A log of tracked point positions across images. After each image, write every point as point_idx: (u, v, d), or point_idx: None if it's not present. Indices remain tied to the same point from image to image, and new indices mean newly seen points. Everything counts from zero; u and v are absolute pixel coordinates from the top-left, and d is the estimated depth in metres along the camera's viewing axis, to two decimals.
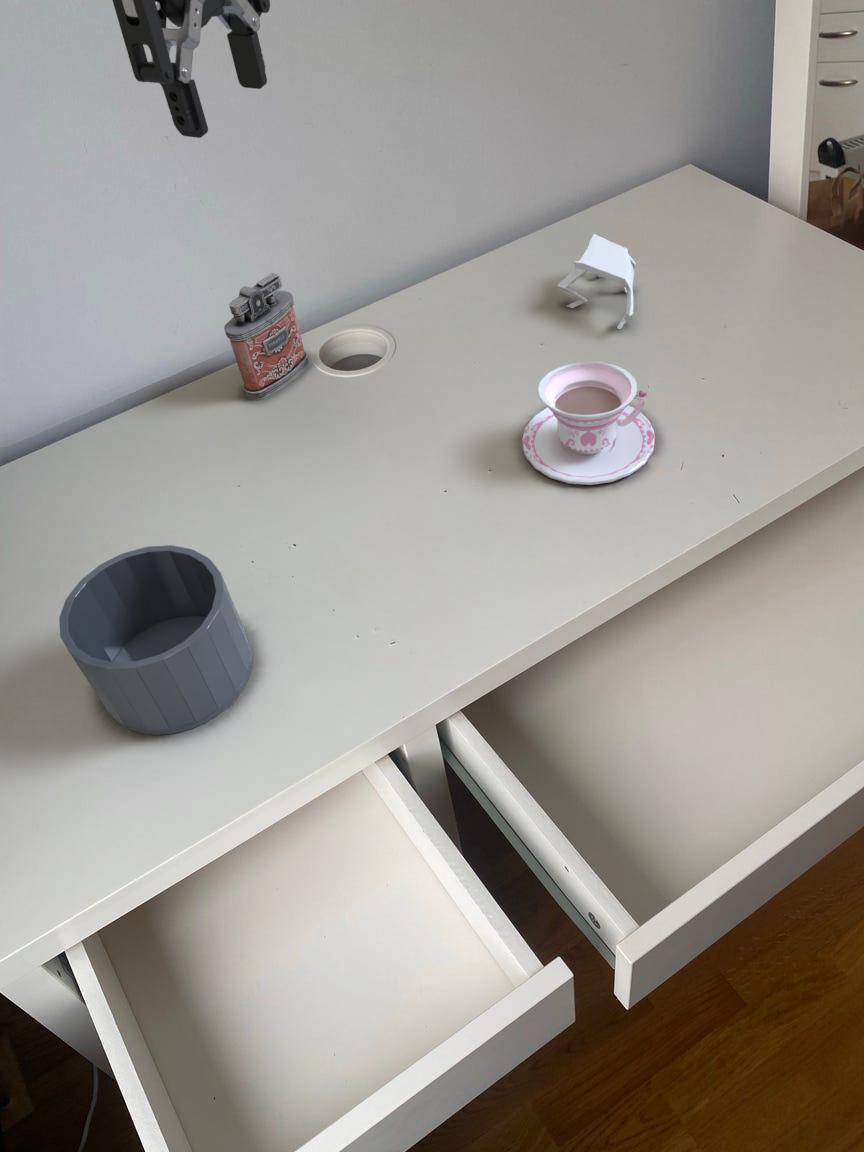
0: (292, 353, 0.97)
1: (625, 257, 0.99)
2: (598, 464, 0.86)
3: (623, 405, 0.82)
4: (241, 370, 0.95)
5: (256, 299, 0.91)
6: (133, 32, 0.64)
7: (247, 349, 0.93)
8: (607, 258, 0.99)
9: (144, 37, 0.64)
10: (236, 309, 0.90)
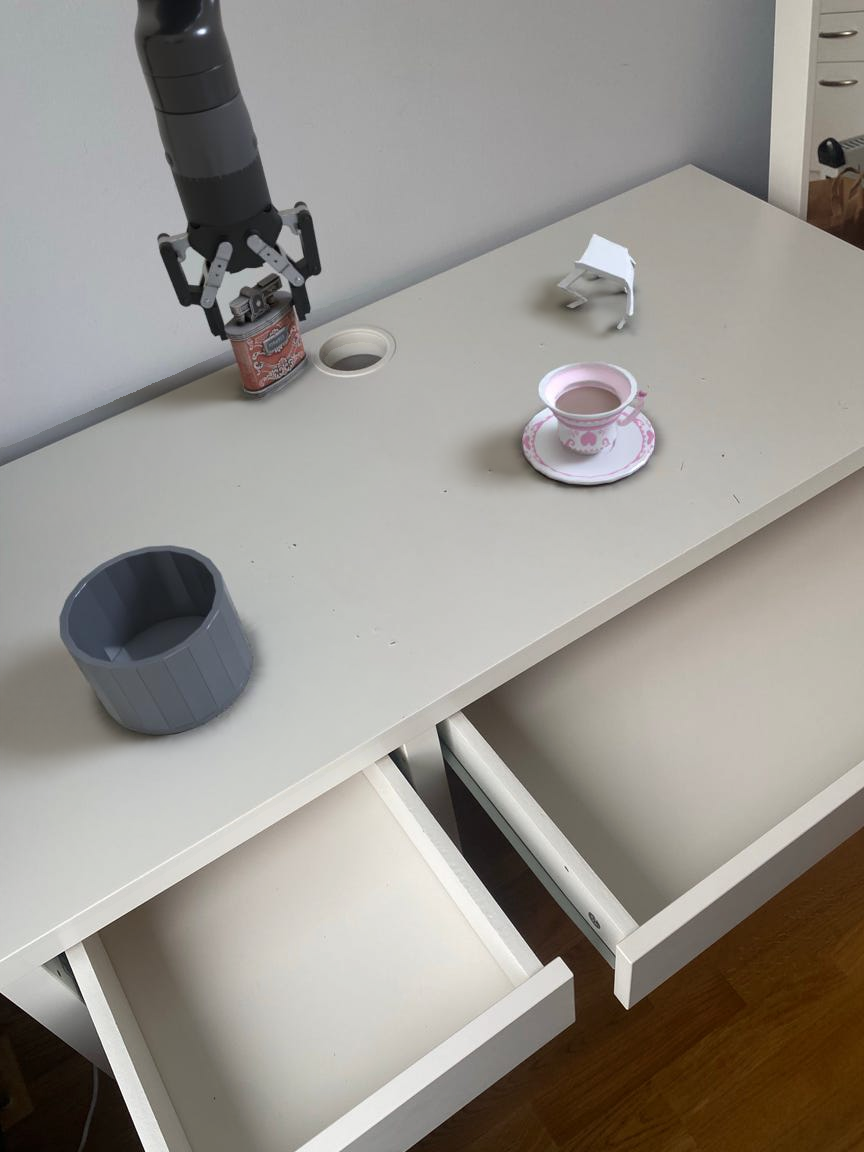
0: (292, 353, 0.97)
1: (625, 257, 0.99)
2: (598, 464, 0.86)
3: (623, 405, 0.82)
4: (241, 370, 0.95)
5: (256, 300, 0.91)
6: None
7: (247, 349, 0.93)
8: (607, 258, 0.99)
9: None
10: (236, 309, 0.90)
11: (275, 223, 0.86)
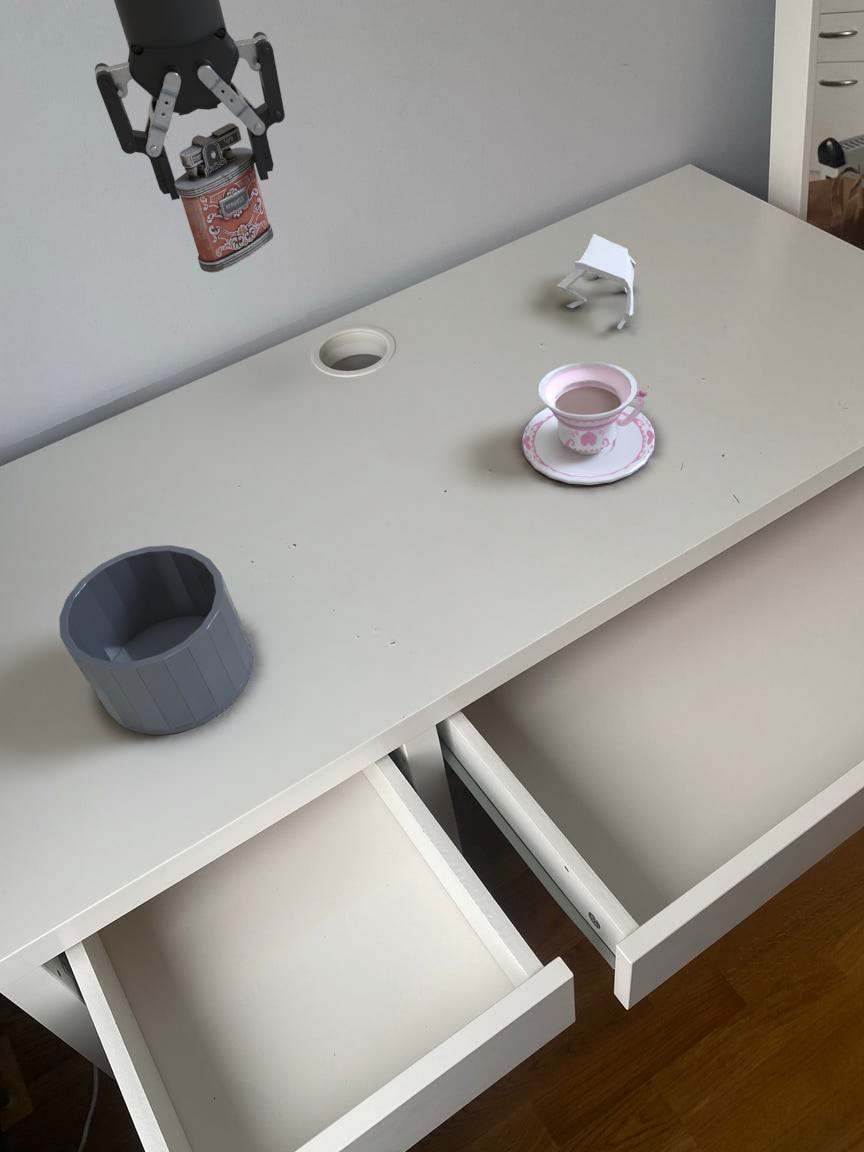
0: (253, 221, 0.86)
1: (625, 257, 0.99)
2: (598, 464, 0.86)
3: (623, 405, 0.82)
4: (195, 236, 0.84)
5: (211, 150, 0.80)
6: None
7: (201, 208, 0.82)
8: (607, 258, 0.99)
9: None
10: (187, 159, 0.79)
11: (230, 53, 0.75)
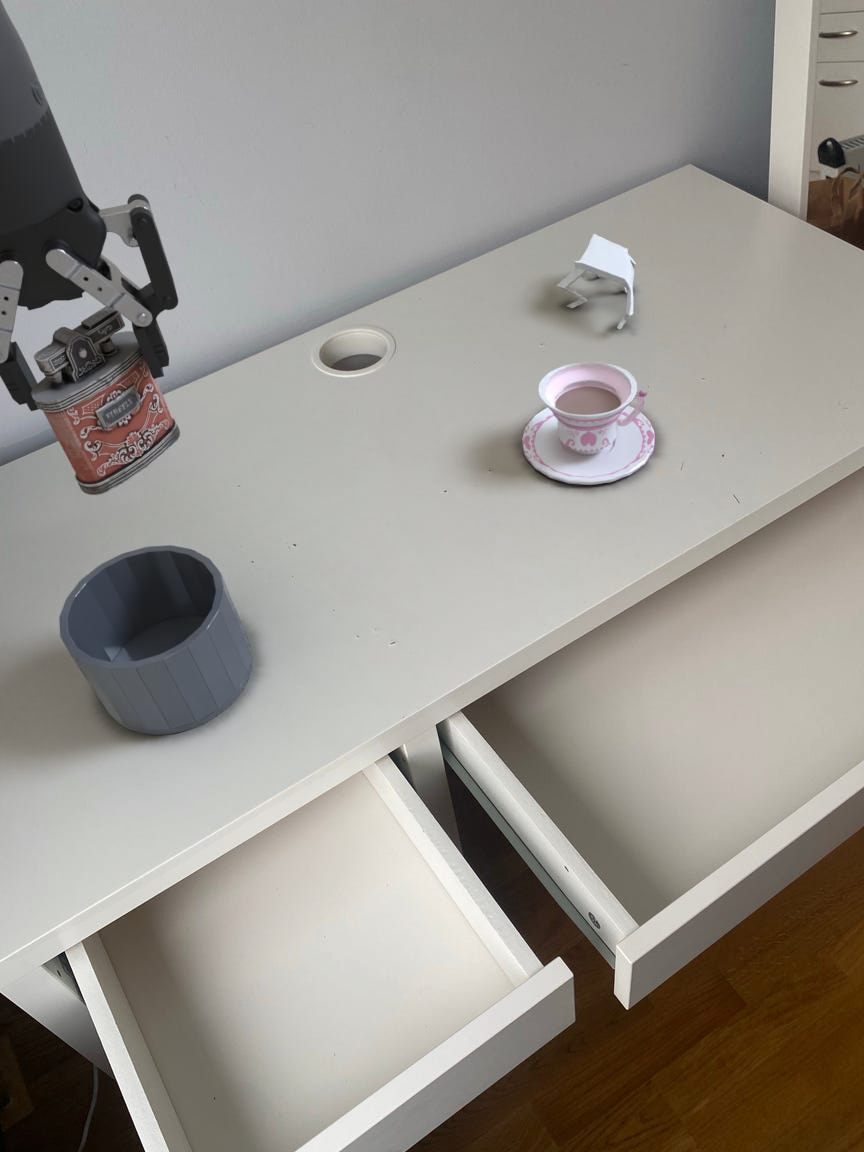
0: (149, 425, 0.65)
1: (625, 257, 0.99)
2: (598, 464, 0.86)
3: (623, 405, 0.82)
4: (66, 454, 0.62)
5: (79, 348, 0.59)
6: None
7: (70, 423, 0.60)
8: (607, 258, 0.99)
9: None
10: (45, 364, 0.58)
11: (92, 229, 0.54)
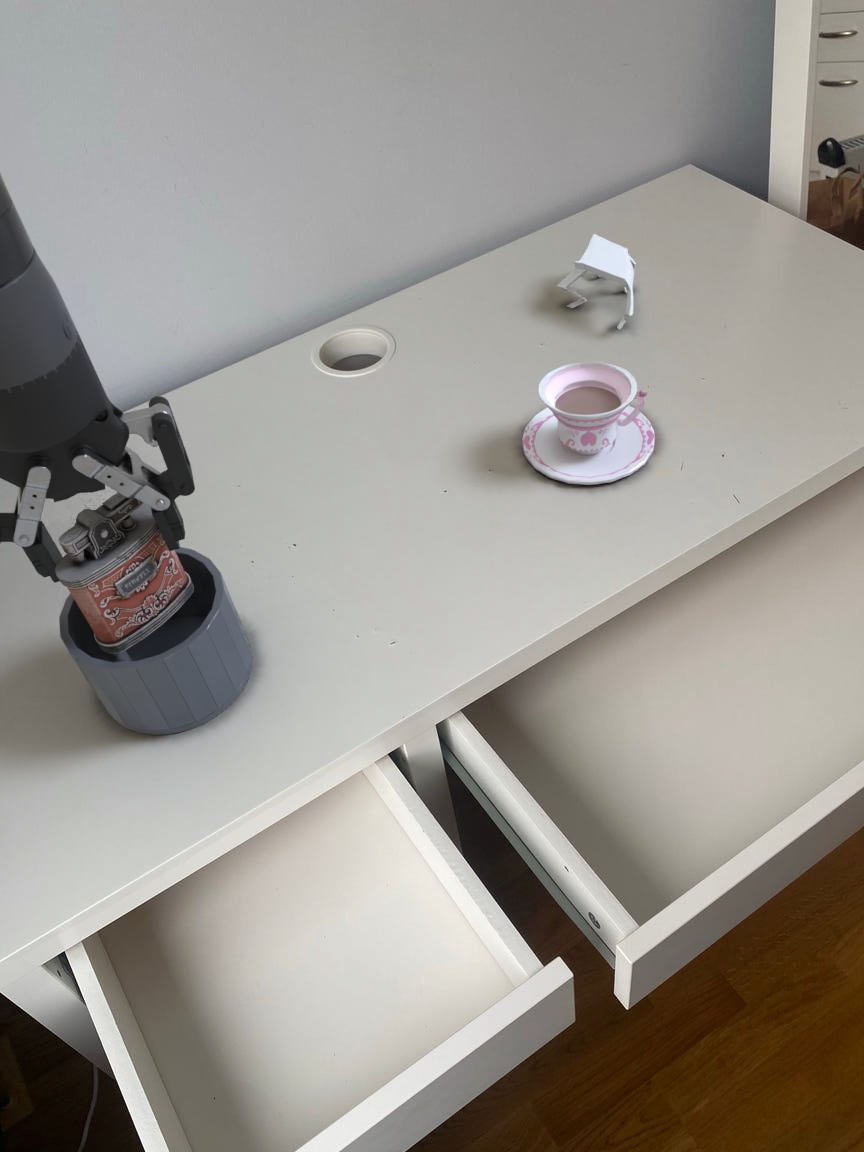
0: (165, 586, 0.68)
1: (625, 257, 0.99)
2: (598, 464, 0.86)
3: (623, 405, 0.82)
4: (87, 619, 0.66)
5: (101, 530, 0.62)
6: None
7: (91, 596, 0.64)
8: (607, 258, 0.99)
9: None
10: (69, 547, 0.61)
11: (116, 434, 0.58)
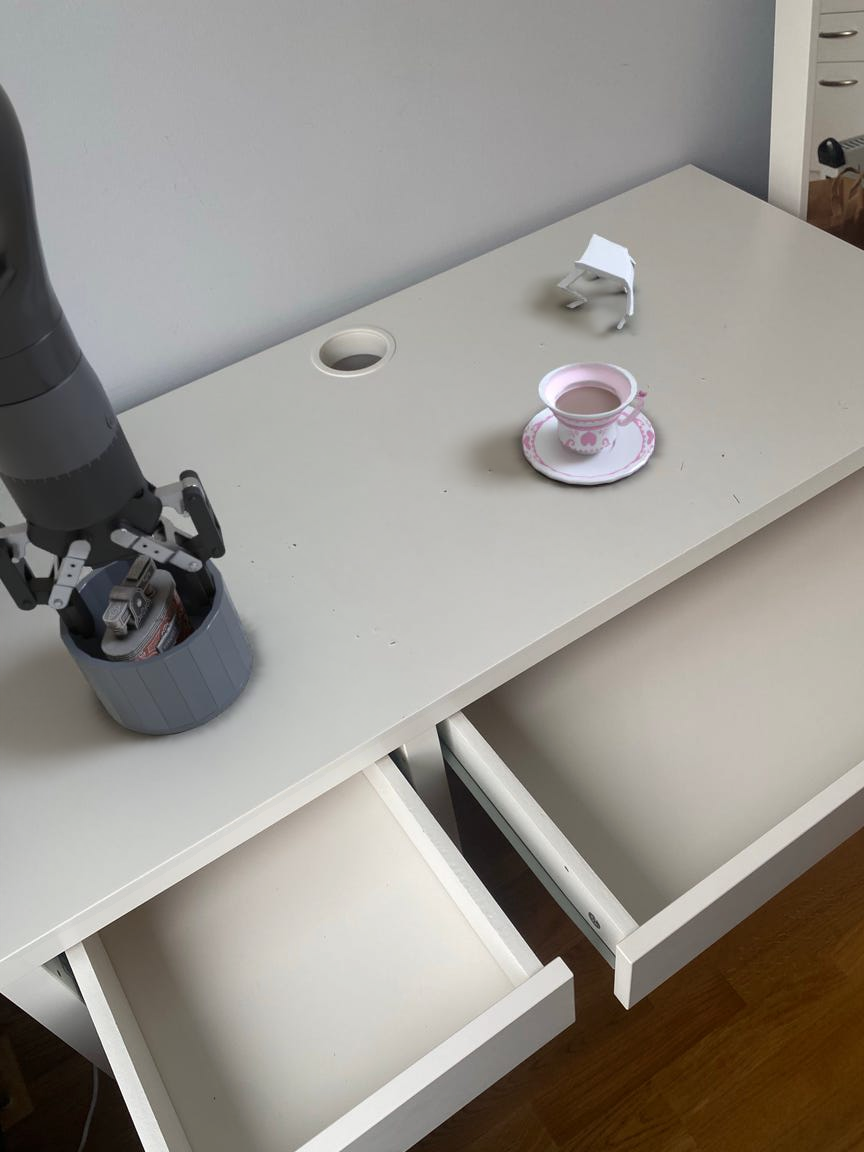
0: None
1: (625, 257, 0.99)
2: (598, 464, 0.86)
3: (623, 405, 0.82)
4: None
5: (136, 600, 0.67)
6: None
7: None
8: (607, 258, 0.99)
9: None
10: (117, 623, 0.65)
11: (151, 509, 0.62)
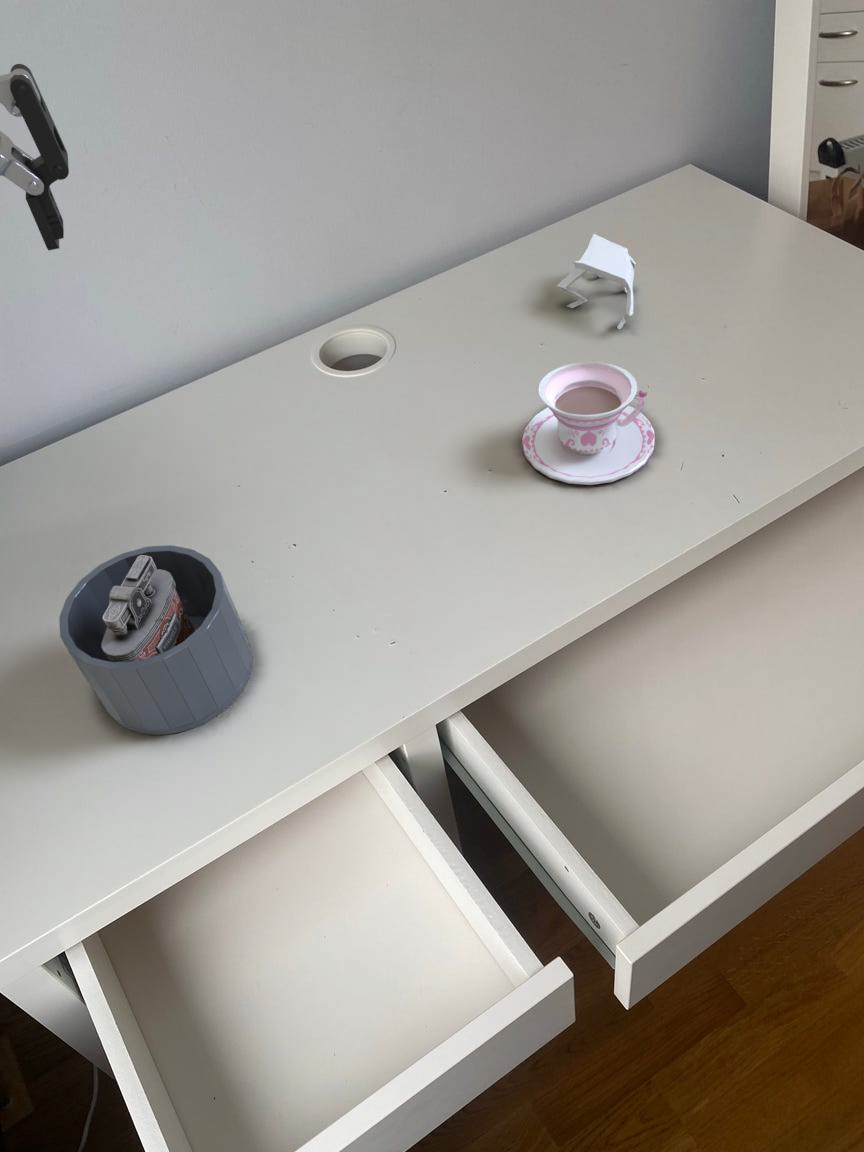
0: None
1: (625, 257, 0.99)
2: (598, 464, 0.86)
3: (623, 405, 0.82)
4: None
5: (136, 600, 0.67)
6: None
7: None
8: (607, 258, 0.99)
9: None
10: (117, 623, 0.65)
11: None
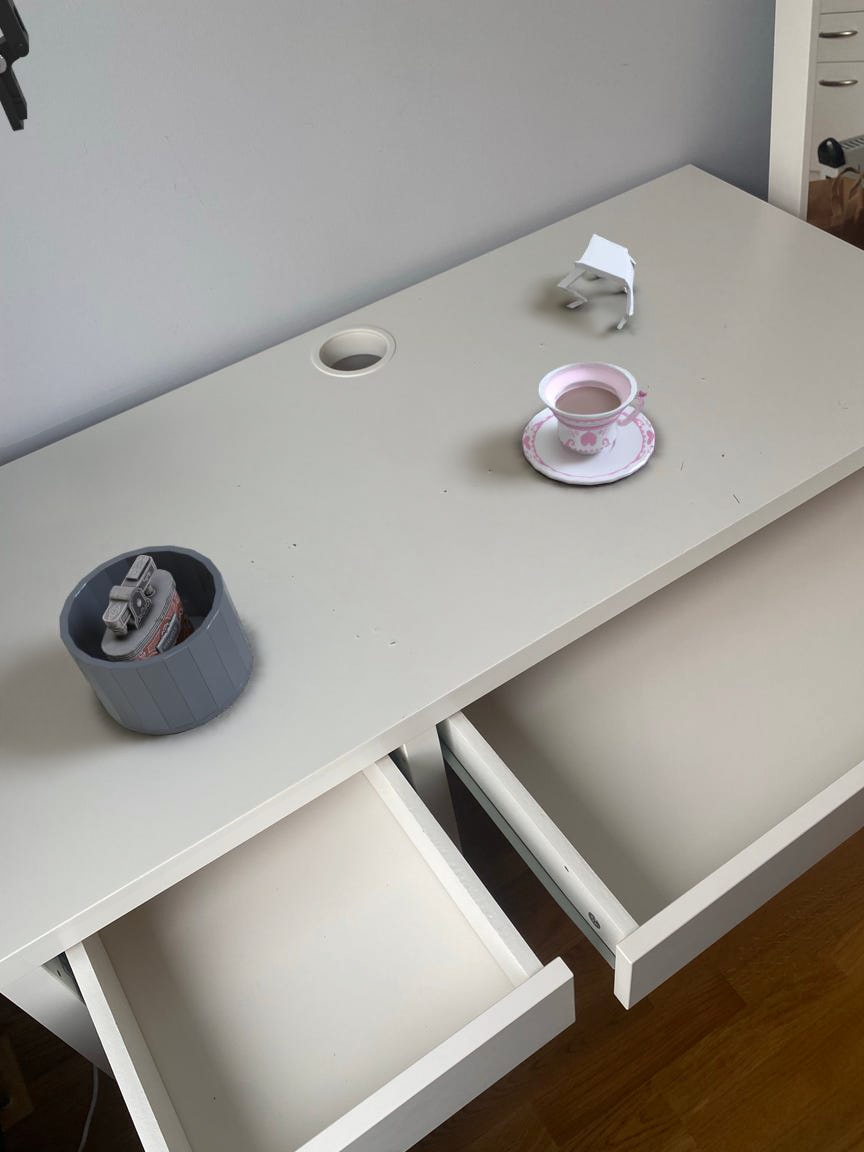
0: None
1: (625, 257, 0.99)
2: (598, 464, 0.86)
3: (623, 405, 0.82)
4: None
5: (136, 600, 0.67)
6: None
7: None
8: (607, 258, 0.99)
9: None
10: (117, 623, 0.65)
11: None
